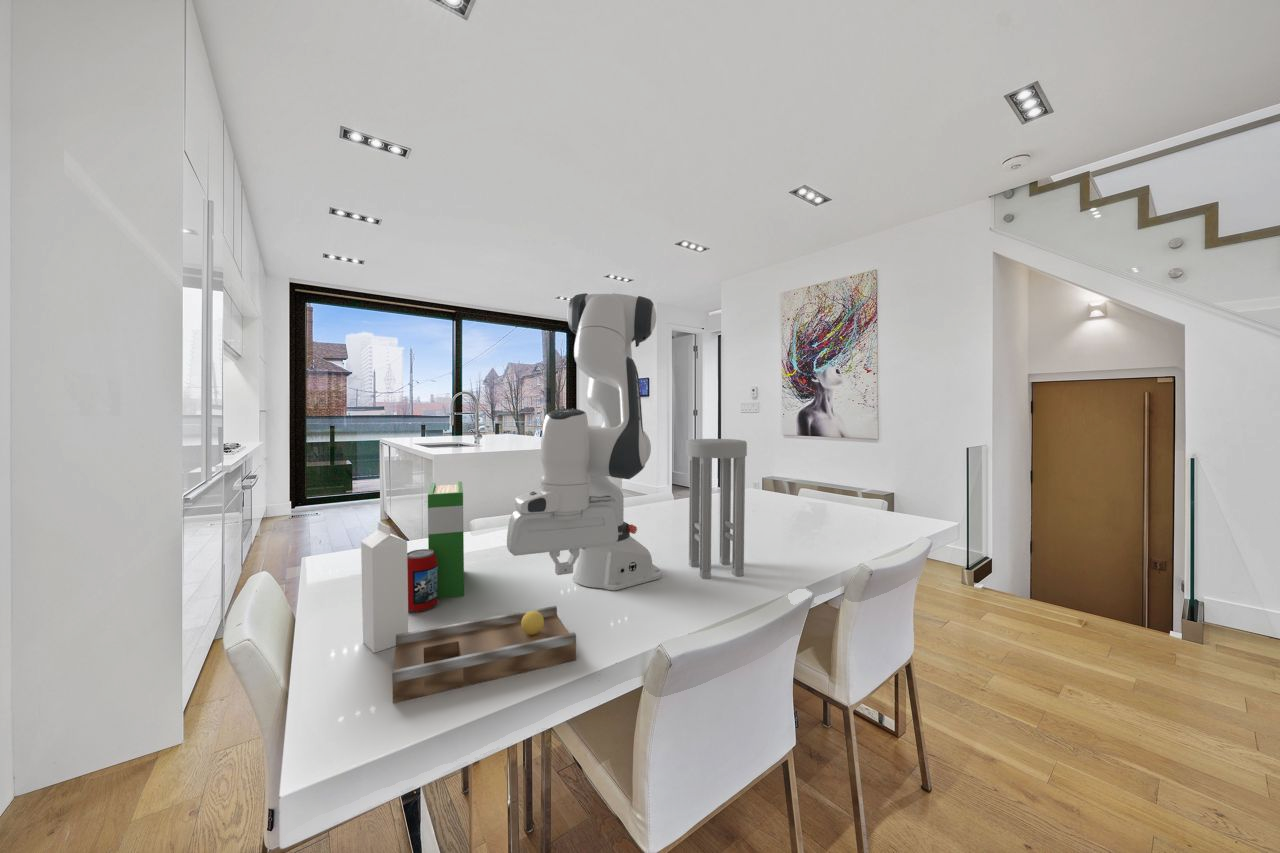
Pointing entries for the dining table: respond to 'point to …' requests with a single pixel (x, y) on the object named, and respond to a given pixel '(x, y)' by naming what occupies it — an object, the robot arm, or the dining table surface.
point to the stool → (703, 502)
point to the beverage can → (422, 580)
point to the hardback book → (447, 537)
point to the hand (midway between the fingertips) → (564, 573)
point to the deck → (476, 653)
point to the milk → (384, 588)
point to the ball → (532, 622)
